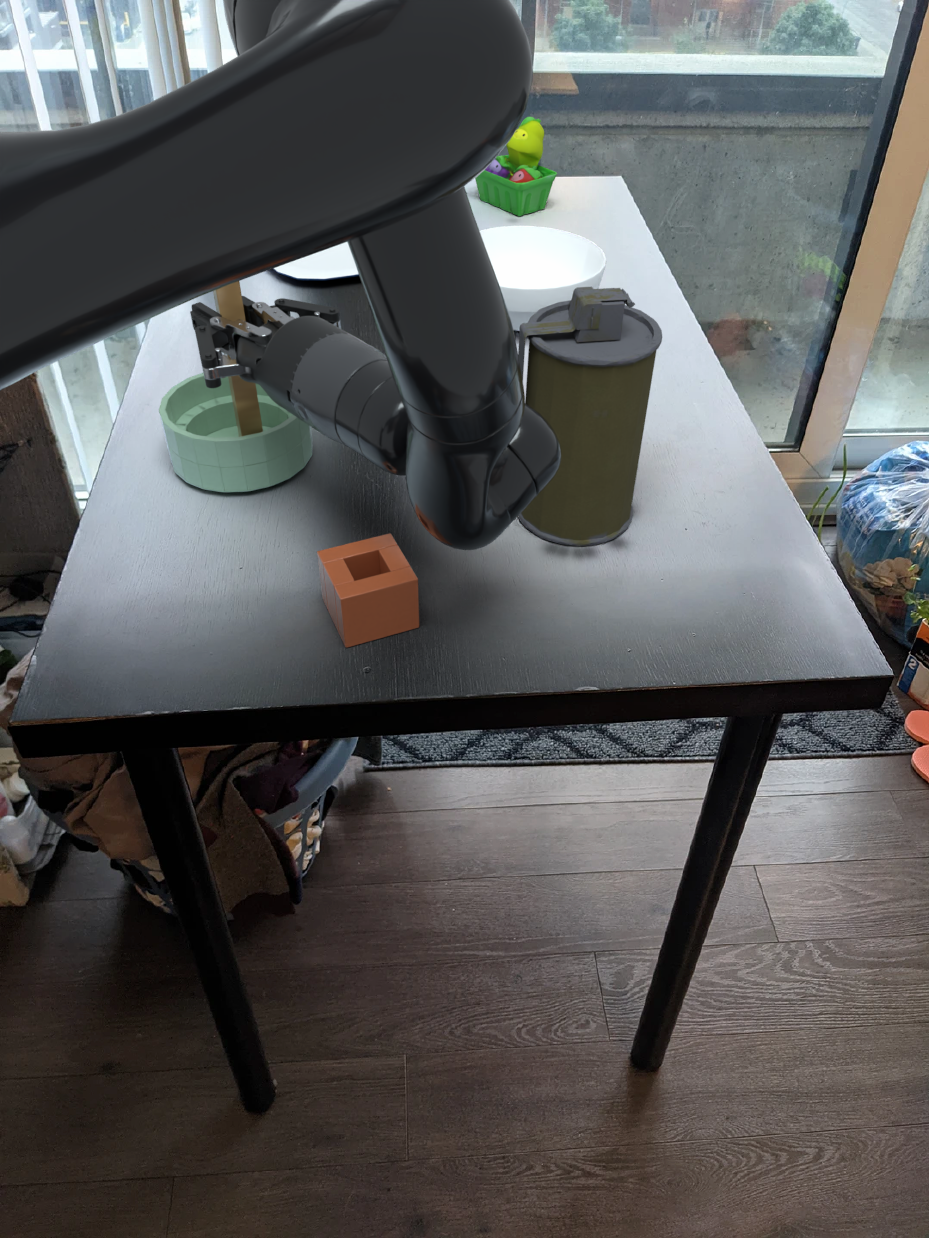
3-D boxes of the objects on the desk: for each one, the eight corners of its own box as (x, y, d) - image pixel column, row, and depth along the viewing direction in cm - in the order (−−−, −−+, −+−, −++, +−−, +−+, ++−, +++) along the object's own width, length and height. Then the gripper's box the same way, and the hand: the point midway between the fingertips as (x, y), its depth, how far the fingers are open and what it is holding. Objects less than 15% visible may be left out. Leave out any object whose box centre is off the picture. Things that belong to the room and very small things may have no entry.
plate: (228, 228, 132) (226, 216, 131) (395, 201, 141) (394, 189, 140) (288, 299, 116) (286, 285, 115) (472, 263, 124) (472, 250, 123)
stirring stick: (244, 450, 87) (205, 230, 73) (239, 439, 88) (200, 221, 75) (265, 446, 87) (230, 226, 74) (260, 435, 89) (225, 217, 75)
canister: (614, 473, 89) (644, 263, 76) (647, 541, 82) (687, 322, 68) (500, 482, 88) (510, 270, 74) (523, 552, 80) (539, 331, 67)
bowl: (420, 301, 116) (419, 241, 111) (546, 273, 123) (550, 215, 118) (495, 365, 104) (497, 302, 99) (630, 330, 111) (638, 269, 106)
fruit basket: (467, 199, 142) (468, 117, 134) (511, 187, 146) (514, 106, 138) (518, 222, 135) (522, 136, 128) (563, 208, 140) (569, 124, 132)
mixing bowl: (187, 511, 84) (174, 453, 80) (161, 436, 93) (148, 381, 89) (330, 479, 88) (324, 422, 84) (292, 410, 97) (285, 356, 93)
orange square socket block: (345, 648, 72) (340, 599, 68) (322, 599, 76) (316, 550, 72) (419, 627, 73) (418, 578, 70) (393, 581, 77) (390, 532, 74)
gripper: (403, 309, 73) (274, 243, 82) (250, 368, 66) (127, 289, 75) (406, 396, 78) (284, 325, 87) (265, 459, 71) (148, 375, 80)
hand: (212, 309), depth 81 cm, fingers closed on stirring stick, 2 cm apart
